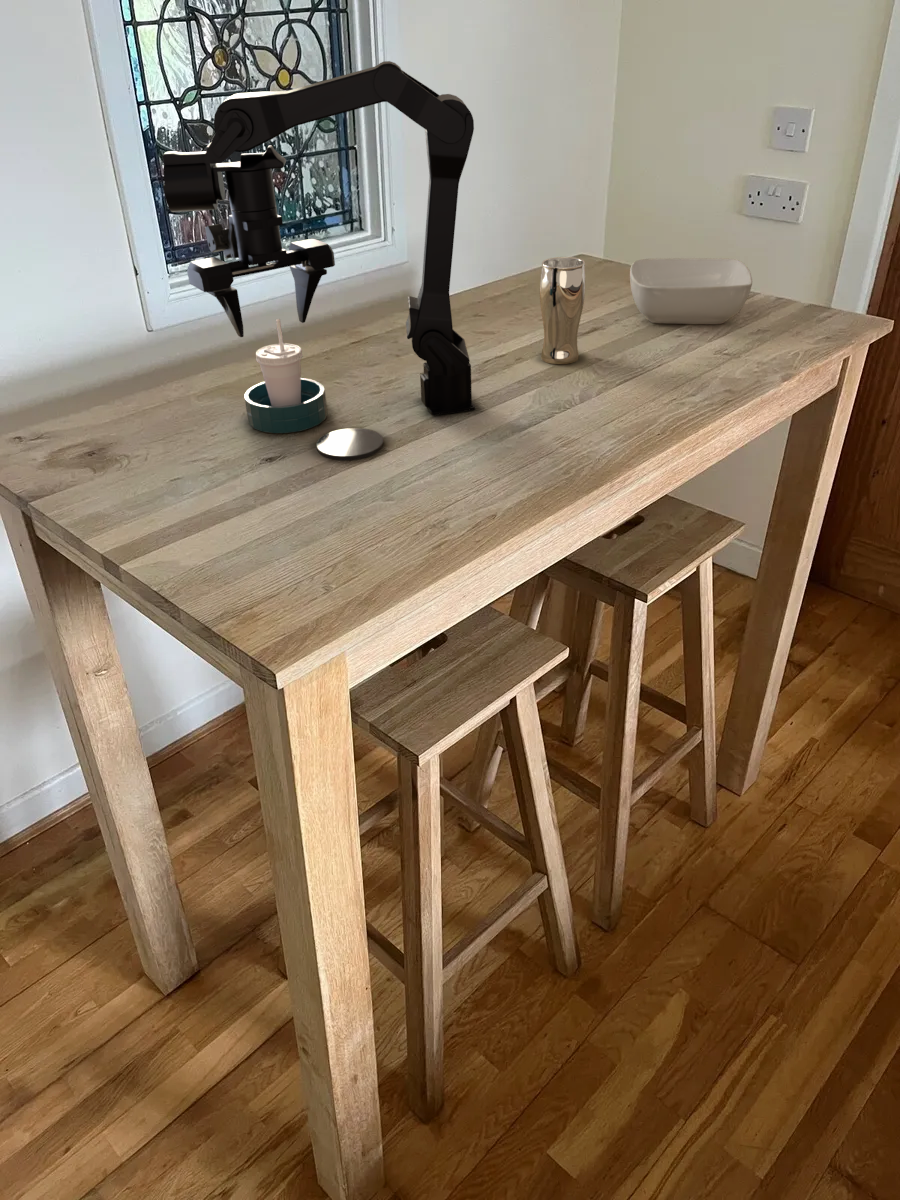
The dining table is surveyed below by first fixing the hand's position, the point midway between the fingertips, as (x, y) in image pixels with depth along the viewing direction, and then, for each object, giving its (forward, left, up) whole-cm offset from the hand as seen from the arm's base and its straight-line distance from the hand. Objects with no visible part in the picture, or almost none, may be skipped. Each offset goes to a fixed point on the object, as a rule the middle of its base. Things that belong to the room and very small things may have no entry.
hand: (272, 329), depth 125 cm
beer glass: (-45, -9, -13) cm, 48 cm away
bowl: (-74, -23, -13) cm, 79 cm away
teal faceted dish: (0, +1, -13) cm, 13 cm away
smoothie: (0, +1, -13) cm, 13 cm away
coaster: (-7, +13, -13) cm, 20 cm away
